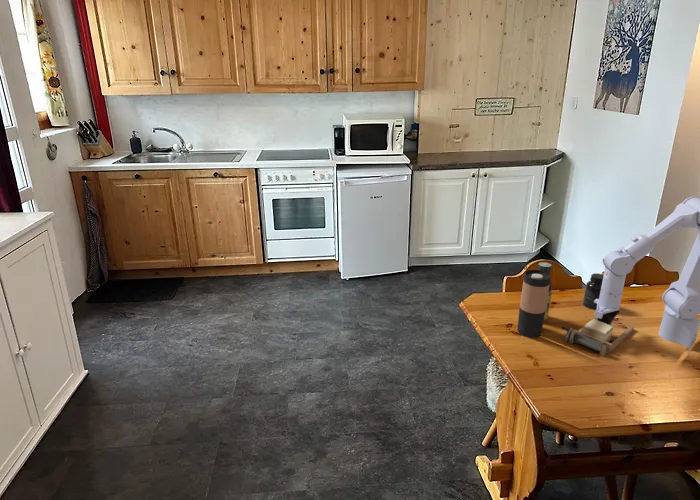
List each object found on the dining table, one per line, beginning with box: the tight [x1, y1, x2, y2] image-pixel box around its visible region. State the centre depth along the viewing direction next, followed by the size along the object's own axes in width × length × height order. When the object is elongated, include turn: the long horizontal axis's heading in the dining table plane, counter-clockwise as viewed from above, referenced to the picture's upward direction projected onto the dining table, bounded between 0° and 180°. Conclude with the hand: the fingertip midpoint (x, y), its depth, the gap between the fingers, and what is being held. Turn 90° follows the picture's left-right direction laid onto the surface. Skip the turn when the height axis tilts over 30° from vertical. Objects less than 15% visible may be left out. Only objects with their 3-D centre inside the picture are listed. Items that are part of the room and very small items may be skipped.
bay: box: [573, 316, 635, 354], centre depth 151 cm, size 11×19×4 cm, turn 133°
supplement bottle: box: [582, 272, 604, 311], centre depth 167 cm, size 7×7×12 cm
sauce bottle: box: [537, 261, 553, 323], centre depth 158 cm, size 6×6×20 cm
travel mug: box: [517, 269, 552, 339], centre depth 151 cm, size 8×8×20 cm
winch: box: [561, 325, 608, 357], centre depth 145 cm, size 13×4×5 cm, turn 43°
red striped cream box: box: [583, 318, 614, 343], centre depth 147 cm, size 6×6×5 cm
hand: (603, 330), depth 151 cm, fingers closed
